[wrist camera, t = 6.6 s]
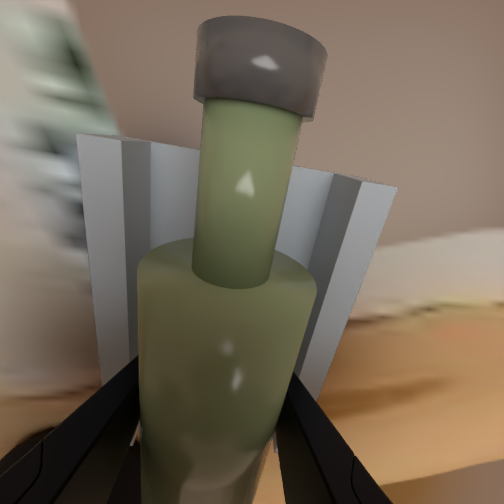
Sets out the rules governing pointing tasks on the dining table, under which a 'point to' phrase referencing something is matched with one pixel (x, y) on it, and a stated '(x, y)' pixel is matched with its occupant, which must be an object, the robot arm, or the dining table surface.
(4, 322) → the dining table surface
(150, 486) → the oil bottle
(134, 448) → the coffee jar
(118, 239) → the u rest
